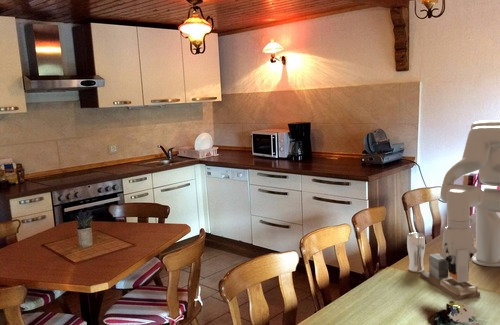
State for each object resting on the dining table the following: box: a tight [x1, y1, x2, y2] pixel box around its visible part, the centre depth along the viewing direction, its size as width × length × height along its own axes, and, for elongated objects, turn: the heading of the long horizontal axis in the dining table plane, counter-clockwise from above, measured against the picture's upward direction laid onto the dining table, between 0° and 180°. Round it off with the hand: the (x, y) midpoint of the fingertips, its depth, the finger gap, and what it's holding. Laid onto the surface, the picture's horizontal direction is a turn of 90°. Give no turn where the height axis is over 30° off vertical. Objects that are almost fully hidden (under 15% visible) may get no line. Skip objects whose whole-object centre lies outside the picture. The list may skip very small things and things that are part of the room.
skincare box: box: [448, 249, 470, 283], centre depth 160 cm, size 6×4×12 cm
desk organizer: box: [419, 253, 481, 301], centre depth 166 cm, size 9×23×10 cm, turn 12°
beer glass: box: [406, 232, 426, 273], centre depth 183 cm, size 7×7×15 cm
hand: (458, 271), depth 160 cm, fingers closed on skincare box, 4 cm apart
